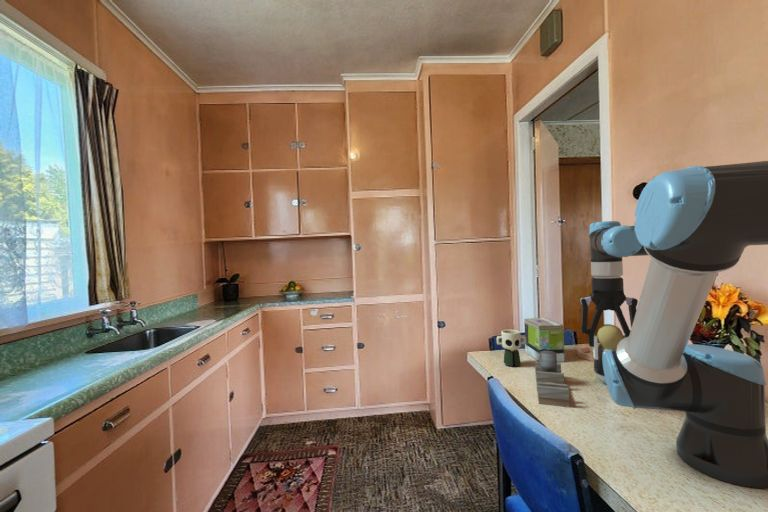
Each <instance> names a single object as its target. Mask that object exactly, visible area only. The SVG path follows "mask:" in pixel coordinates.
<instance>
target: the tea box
mask: <svg viewBox="0 0 768 512" xmlns="http://www.w3.org/2000/svg"><path fill="white" fill-rule="evenodd" d="M523 321H524V336H525V337H526V344H524V348H525V352H526V353H527V354H528V355H530V356H531V357H532V358H534V360H537V362H540V352H541V351H553V352H556V354H557V363H563V362H565V337H564V336H565V333H564V332H565V329H564V324H562V323H559V322H558V321H555V320H553V319H550V318H547V317H537V318H536V317H535V318H534V317H532V318H531V317H530V318H524V320H523Z"/></svg>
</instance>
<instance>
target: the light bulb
mask: <svg viewBox="0 0 768 512" xmlns="http://www.w3.org/2000/svg"><path fill="white" fill-rule="evenodd" d="M595 334H596V336H597V341H598V344H601V345H602V347H603V348H602V354H603V352H604V351H606V350H613V351H616V348H617V345H618V343H619V342H620V341H621V340H622V339H623V335H624V333H623V331H622V330H621V329H620V328H619V327H618V326H616V325H614V324H612V323H611V324H610V323H605V324H602V325H600V326H599V327H597V328H596V331H595Z"/></svg>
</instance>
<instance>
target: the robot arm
mask: <svg viewBox="0 0 768 512" xmlns="http://www.w3.org/2000/svg"><path fill="white" fill-rule="evenodd" d="M634 217H635V221H634V225H622V224H621V222H620V221H617V220H609V221H608V220H606V221H596V222H592V223H590V225H589V232H588V237H589V249H590V250H589V251H590V252H589V253H590V274H591V276H593V277H592V278H591V279H590V280H591V294H590V296H587V297H580V298H579V302H580V304H581V314H580V315H581V316H580V331H581V332H582V333H583V334H586V335H587V337H588V338H587V340H588V341H587V342H588V345H589V346H590V347H593V352H592V355H593V357H594V358H595V359H596V360H598V346H599V342H598V340H597V336H596V331H597V329H598V325H599V322H600V318H601V316H602V314H603V311H613V312H614V314H615V315H616V317H617V320H618V322H619V324H620V327H621V329H622V333H623V339H622V340H621V341H620V342H619V343H618V345H617V348H616V351H613V350H606V351H604V352H603V355H602V361H603V369H604V375H605V379H606V383H607V384H606V386H607V390H608V392H609V395H610V397H611V400H612V401H613V402H614V403H615V404H616V405H617V406H621V407H624V408H625V407H626V408H632V409H644V410H646V409H647V410H659V411H661V410H662V411H672V412H674V411H675V412H677V411H678V412H685V419H684V422H683V424H682V425H681V428H680V430H679V433H678V435H677V437H676V443H675V445H676V449H675V450H676V454H677V455H678V457H679V458H680V459H681V460H682V462H684V463H686V464H687V465H688V466H690V467H691V468H693V469H695V470H696V471H698V472H701V473H702V474H705V475H707V476H709V477H711V478H713V479H717V480H720V481H723V482H726V483H730V484H733V485H737V486H743V487H748V488H757V489H758V488H759V489H766V488H767V489H768V437H767V432H766V430H767V429H766V427H767V426H766V424H767V423H766V421H767V420H766V394H765V393H766V391H765V390H766V389H765V387H766V385H767V383H766V380H765V373H764V367H763V365H762V364H761V362H759V360H757V359H755V358H754V357H752V356H750V355H747V354H744V353H741V352H738V351H735V350H730V349H726V348H722V347H718V346H717V347H716V346H711V345H706V344H694V343H693V344H692V343H690V344H688V343H689V341H690V339H691V336H692V334H693V332H694V330H695V327H696V325H697V322H698V320H699V317H700V316H701V314H702V312H703V309H704V306H705V304H706V302H707V300H708V298H709V294H710V292H711V290H712V288H713V286H714V283H715V281H716V280H717V277H718V275H719V273H721V272H725V271H728V270H730V269H733V267H735V266H736V265H737V264H738V262H739V261H740V258H741V257H742V255H743V252H744V251H745V249H746V248H747V247H749V246H766V245H768V160H762V161H753V162H751V161H750V162H742V163H741V162H740V163H732V164H722V165H721V164H720V165H710V166H701V165H696V166H695V165H694V166H688V167H685V168H683V169H675V170H668V171H664V172H661V173H659V174H658V175H657V176H654V177H653V178H651V180H649V181H648V183H646V184H645V187H643V189H642V191H641V193H640V195H639V197H638V200H637V202H636V207H635V212H634ZM638 256H640V257H642V256H649V258H651V259H650V262H649V265H648V269H647V273H646V276H645V279H644V282H643V287H642V290H641V294H640V297H639V301H638V299H637V298H634V297H628V296H626V294H625V290H624V278H623V277H622V276H624V269H623V267H624V266H623V258H628V257H638ZM591 301H592V303H594V305H595V309H594V313H593V315H592V318H591V321H590V324H589V327H588V320H589V319H588V317H589V305H590V303H591ZM625 302H626V305H627V306H628V312H629V313H628V314H629V320H630V328H629V325H628V323H627V320H626V319H625V316H624V313H623V310H622V308H621V306H622V305H623V304H624V303H625Z"/></svg>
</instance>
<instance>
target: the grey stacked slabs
mask: <svg viewBox="0 0 768 512" xmlns="http://www.w3.org/2000/svg"><path fill="white" fill-rule="evenodd" d="M561 365H562V364H561V362H557V354H556V352H553V351H541V352H540V362H539V361H534V367H535V368H534V369H535V382H536V391H537V392H536V393H537V399H538V401H537V402H538V405H547V406H556V407H565V408H566V407H567V408H570V407H571V406H570V390H569V389H570V388H569V386H568V384H567V383H566V384H565V374H564V372H562V366H561Z"/></svg>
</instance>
